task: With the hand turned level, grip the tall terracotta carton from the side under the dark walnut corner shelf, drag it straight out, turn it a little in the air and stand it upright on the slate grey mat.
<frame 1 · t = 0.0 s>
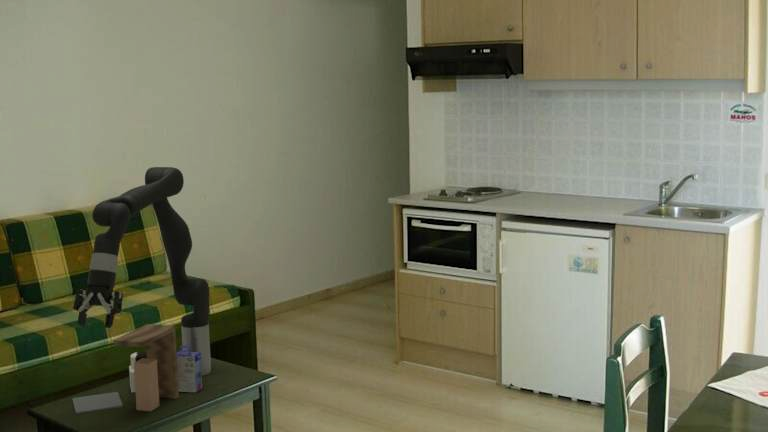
hand: (94, 327, 260), 31 cm above the table, tool tilted 20°, fingers open, 8 cm apart
slate mat: (97, 403, 290), on the table
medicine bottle: (141, 388, 304), on the table
ink cartridge box: (186, 390, 301), on the table
terracotta carton: (148, 407, 285), on the table
walnut shelf: (148, 407, 285), on the table
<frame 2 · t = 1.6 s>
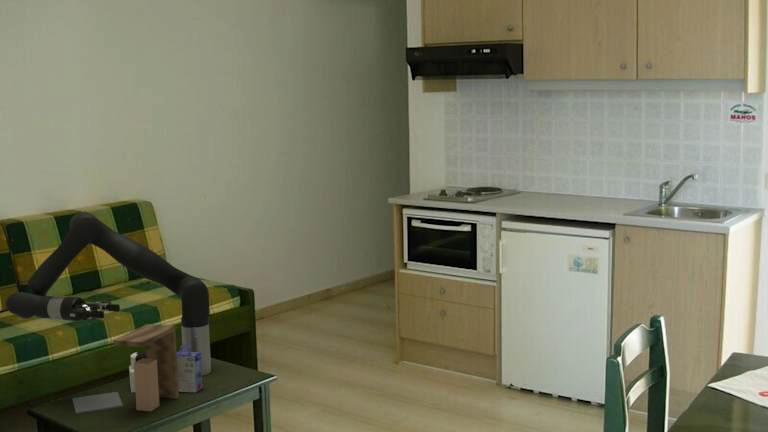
hand: (111, 311, 284), 30 cm above the table, tool horizontal, fingers open, 8 cm apart
nothing on the table moved.
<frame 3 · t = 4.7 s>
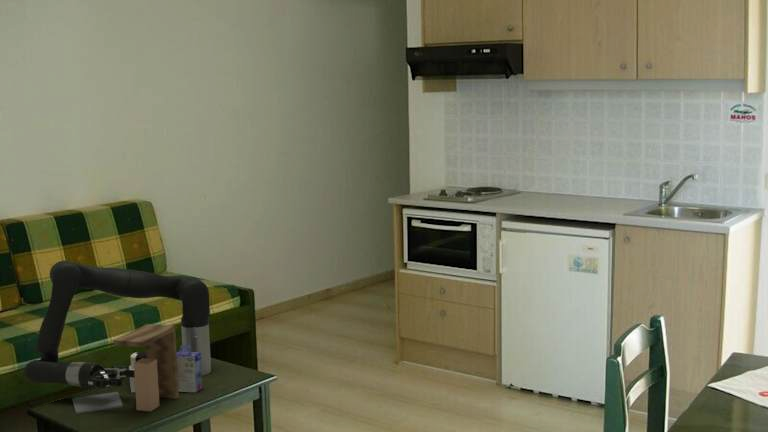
hand: (129, 378, 286), 9 cm above the table, tool horizontal, fingers open, 8 cm apart
nothing on the table moved.
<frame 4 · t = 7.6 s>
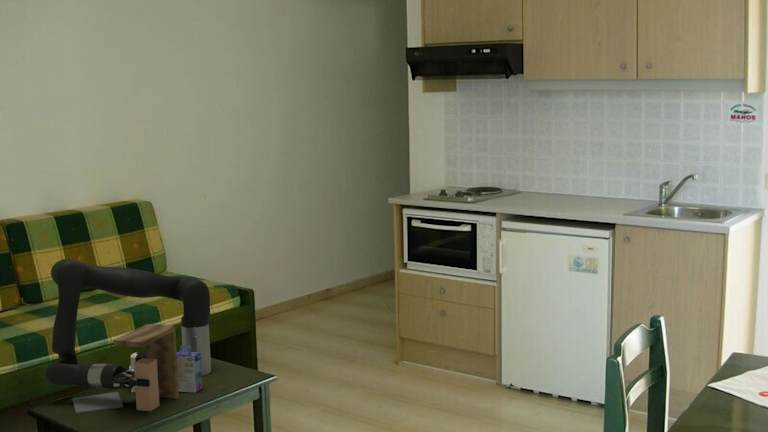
hand: (153, 380, 283), 9 cm above the table, tool horizontal, fingers closed on terracotta carton, 5 cm apart
terracotta carton: (148, 407, 285), on the table, touching gripper
everything else where it was.
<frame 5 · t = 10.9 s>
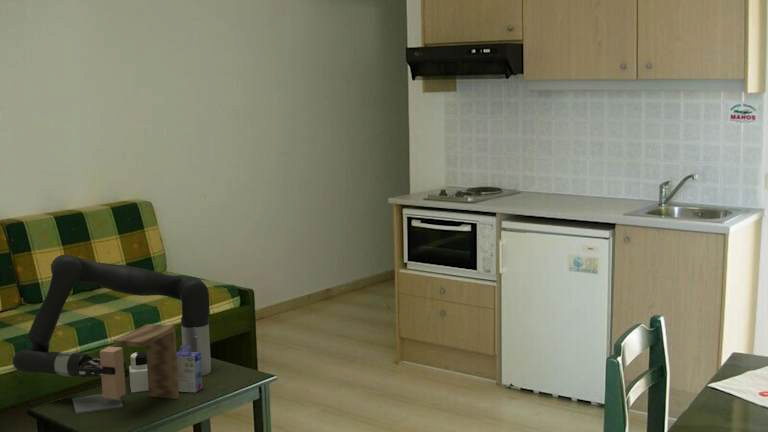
hand: (119, 368, 286), 12 cm above the table, tool horizontal, fingers closed on terracotta carton, 5 cm apart
terracotta carton: (114, 395, 288), point 3 cm above the table, touching gripper
everything else where it was.
when the fingers open (11 cm above the table, at t = 14.3 s): terracotta carton drops 1 cm, resting on slate mat.
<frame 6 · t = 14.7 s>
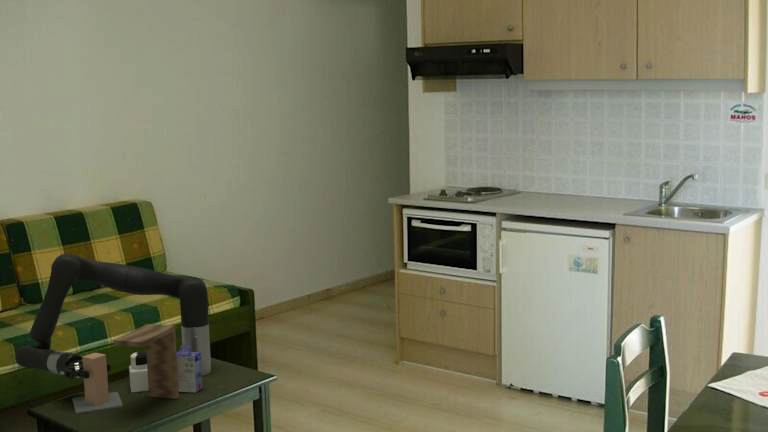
hand: (99, 371, 287), 11 cm above the table, tool horizontal, fingers open, 8 cm apart
terracotta carton: (97, 401, 290), point 1 cm above the table, touching slate mat
everything else where it was.
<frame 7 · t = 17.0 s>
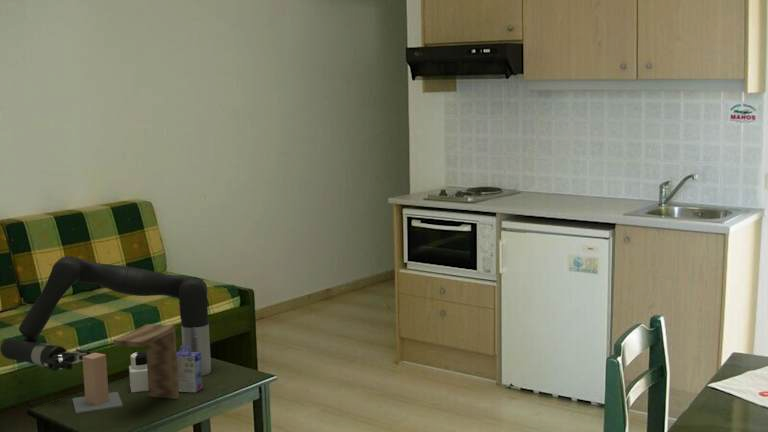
hand: (82, 362, 291), 12 cm above the table, tool horizontal, fingers open, 8 cm apart
nothing on the table moved.
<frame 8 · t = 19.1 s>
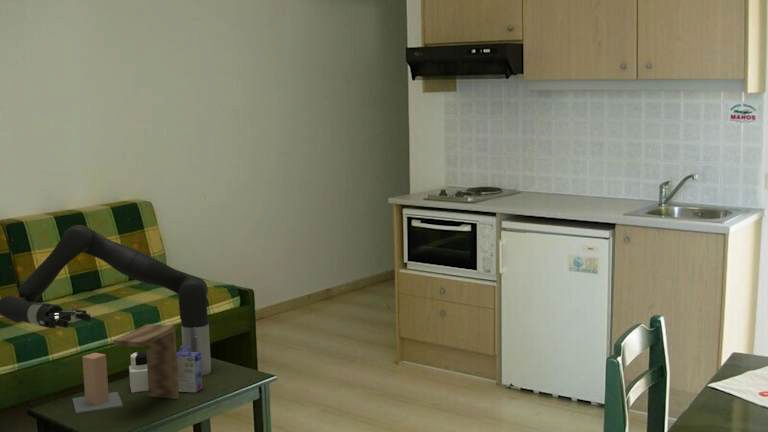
hand: (78, 321, 289), 26 cm above the table, tool horizontal, fingers open, 8 cm apart
nothing on the table moved.
at the end: terracotta carton inside the target area on the slate mat (0.0 cm from its centre), point 0.6 cm above the slate mat's base; terracotta carton tilted 0°; the gripper is holding nothing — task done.
